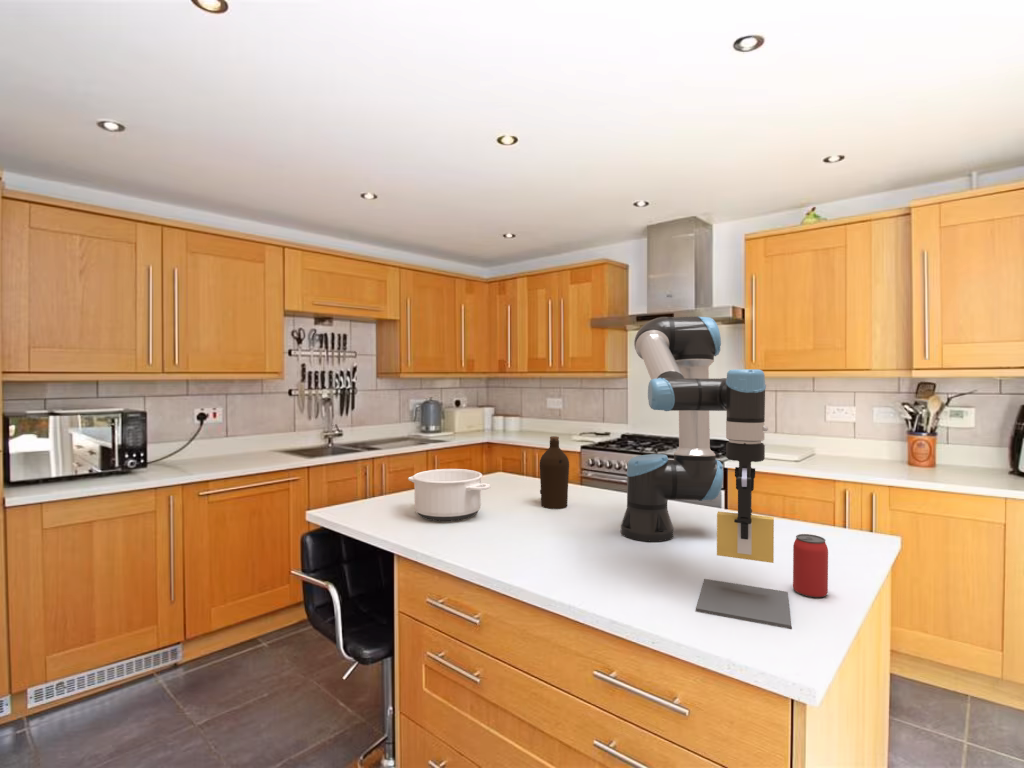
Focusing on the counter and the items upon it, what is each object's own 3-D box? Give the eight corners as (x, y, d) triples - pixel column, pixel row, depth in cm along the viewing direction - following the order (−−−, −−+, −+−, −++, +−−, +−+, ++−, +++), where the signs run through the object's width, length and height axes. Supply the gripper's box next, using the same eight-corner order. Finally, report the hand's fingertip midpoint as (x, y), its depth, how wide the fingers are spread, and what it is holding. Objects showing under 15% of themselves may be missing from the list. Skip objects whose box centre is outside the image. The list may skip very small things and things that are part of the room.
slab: (716, 555, 114) (717, 513, 114) (717, 552, 117) (717, 511, 117) (773, 562, 110) (773, 519, 110) (773, 559, 112) (773, 517, 112)
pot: (507, 514, 180) (507, 474, 179) (466, 531, 160) (466, 486, 160) (433, 501, 197) (433, 465, 197) (387, 515, 178) (387, 475, 177)
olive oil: (574, 505, 192) (574, 436, 191) (558, 511, 183) (558, 439, 183) (550, 500, 198) (550, 434, 198) (533, 506, 190) (533, 437, 190)
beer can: (786, 586, 118) (787, 533, 118) (814, 585, 119) (815, 532, 118) (805, 599, 111) (805, 542, 111) (834, 598, 112) (835, 542, 112)
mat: (695, 611, 106) (695, 608, 106) (704, 581, 121) (704, 578, 121) (791, 628, 99) (791, 625, 99) (787, 594, 114) (787, 591, 114)
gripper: (764, 446, 104) (764, 565, 105) (764, 438, 118) (764, 543, 119) (723, 444, 108) (723, 559, 108) (728, 436, 122) (728, 538, 122)
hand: (744, 550), depth 113 cm, fingers closed on slab, 2 cm apart
